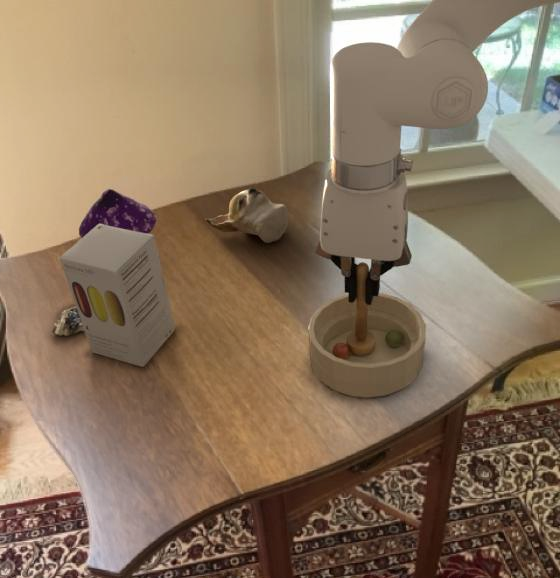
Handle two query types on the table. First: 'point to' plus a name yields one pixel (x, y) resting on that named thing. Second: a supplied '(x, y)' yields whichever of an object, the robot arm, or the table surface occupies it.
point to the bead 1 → (341, 351)
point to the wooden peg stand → (361, 316)
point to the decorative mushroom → (118, 214)
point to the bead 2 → (393, 338)
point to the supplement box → (119, 293)
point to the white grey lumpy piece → (68, 322)
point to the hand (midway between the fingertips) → (361, 296)
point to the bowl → (377, 364)
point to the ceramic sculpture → (253, 216)
